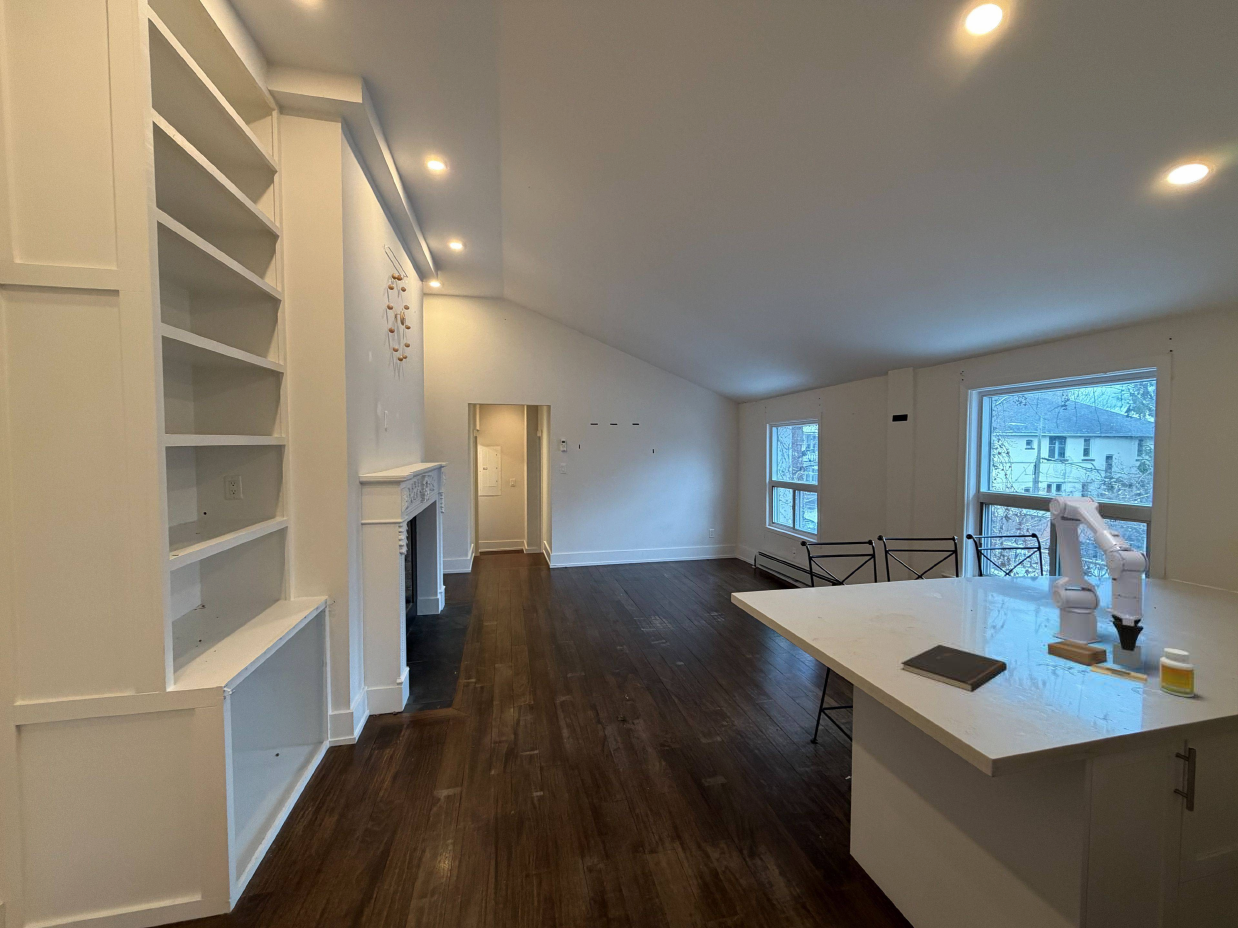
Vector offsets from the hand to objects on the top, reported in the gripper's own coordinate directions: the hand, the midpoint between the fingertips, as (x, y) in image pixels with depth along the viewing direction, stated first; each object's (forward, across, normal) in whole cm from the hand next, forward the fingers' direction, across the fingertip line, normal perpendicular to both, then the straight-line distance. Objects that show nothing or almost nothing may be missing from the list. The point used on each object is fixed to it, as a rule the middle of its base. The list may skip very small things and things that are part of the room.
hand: (1126, 646), depth 132 cm
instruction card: (+5, +9, -2) cm, 10 cm away
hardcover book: (+6, +35, -33) cm, 49 cm away
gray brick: (+5, 0, 0) cm, 5 cm away
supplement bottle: (+5, +14, +8) cm, 17 cm away
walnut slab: (+5, +2, -10) cm, 11 cm away
